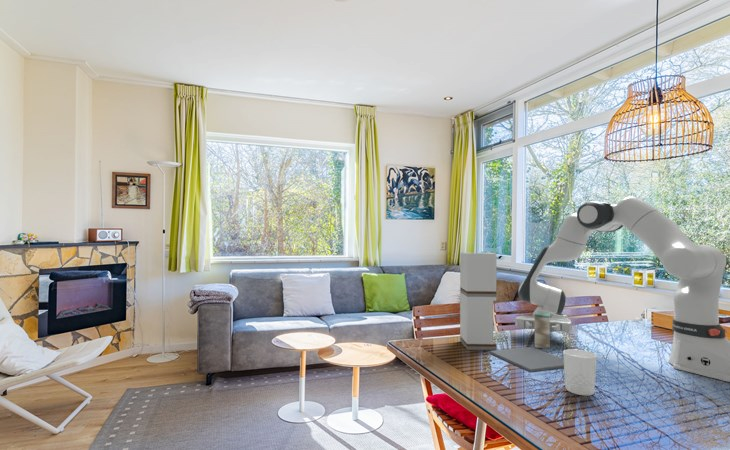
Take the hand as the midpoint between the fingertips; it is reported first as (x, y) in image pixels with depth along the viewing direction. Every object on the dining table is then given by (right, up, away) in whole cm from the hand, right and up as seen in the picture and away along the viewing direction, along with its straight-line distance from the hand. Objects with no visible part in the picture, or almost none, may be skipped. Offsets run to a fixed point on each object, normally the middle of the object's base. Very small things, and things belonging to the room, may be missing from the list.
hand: (542, 327), depth 148 cm
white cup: (-9, -6, -43) cm, 44 cm away
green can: (0, -7, +1) cm, 7 cm away
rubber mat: (-11, -6, -16) cm, 20 cm away
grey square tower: (-24, -7, +1) cm, 25 cm away
